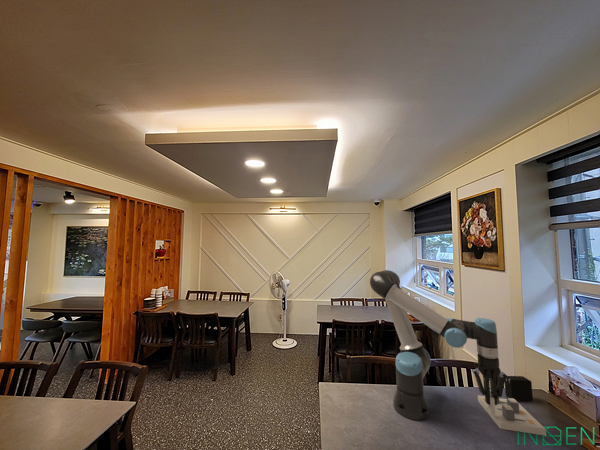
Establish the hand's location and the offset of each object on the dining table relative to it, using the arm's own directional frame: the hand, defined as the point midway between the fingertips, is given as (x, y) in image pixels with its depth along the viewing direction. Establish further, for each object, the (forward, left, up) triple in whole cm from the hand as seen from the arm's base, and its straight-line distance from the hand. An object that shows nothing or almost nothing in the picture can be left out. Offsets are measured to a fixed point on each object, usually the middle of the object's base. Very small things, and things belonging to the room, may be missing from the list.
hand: (491, 412), depth 104 cm
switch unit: (+9, +6, -4) cm, 12 cm away
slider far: (+7, +12, -2) cm, 14 cm away
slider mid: (+11, +6, -2) cm, 13 cm away
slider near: (+6, 0, -2) cm, 6 cm away
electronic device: (+22, +22, -5) cm, 32 cm away
